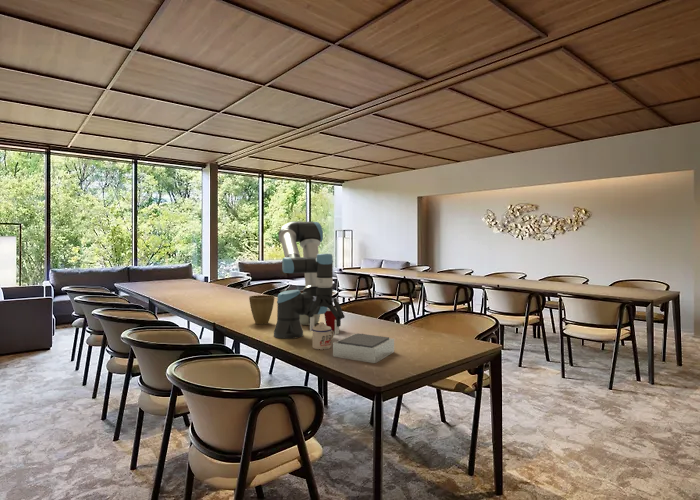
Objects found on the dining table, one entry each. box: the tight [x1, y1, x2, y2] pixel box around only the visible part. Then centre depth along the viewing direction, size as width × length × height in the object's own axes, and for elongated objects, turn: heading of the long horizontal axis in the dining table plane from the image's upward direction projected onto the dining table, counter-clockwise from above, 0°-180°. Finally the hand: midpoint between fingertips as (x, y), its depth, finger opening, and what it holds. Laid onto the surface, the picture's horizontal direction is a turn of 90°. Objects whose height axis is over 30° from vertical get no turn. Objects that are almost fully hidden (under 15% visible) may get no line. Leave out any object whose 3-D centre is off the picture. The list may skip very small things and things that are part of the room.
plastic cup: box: [323, 307, 343, 332], centre depth 236 cm, size 11×11×12 cm
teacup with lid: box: [311, 321, 335, 351], centre depth 199 cm, size 12×9×12 cm
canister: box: [300, 314, 321, 326], centre depth 252 cm, size 18×18×21 cm
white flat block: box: [332, 332, 395, 364], centre depth 189 cm, size 20×25×7 cm
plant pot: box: [248, 294, 275, 325], centre depth 252 cm, size 15×15×16 cm
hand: (324, 332), depth 198 cm, fingers open, 13 cm apart
